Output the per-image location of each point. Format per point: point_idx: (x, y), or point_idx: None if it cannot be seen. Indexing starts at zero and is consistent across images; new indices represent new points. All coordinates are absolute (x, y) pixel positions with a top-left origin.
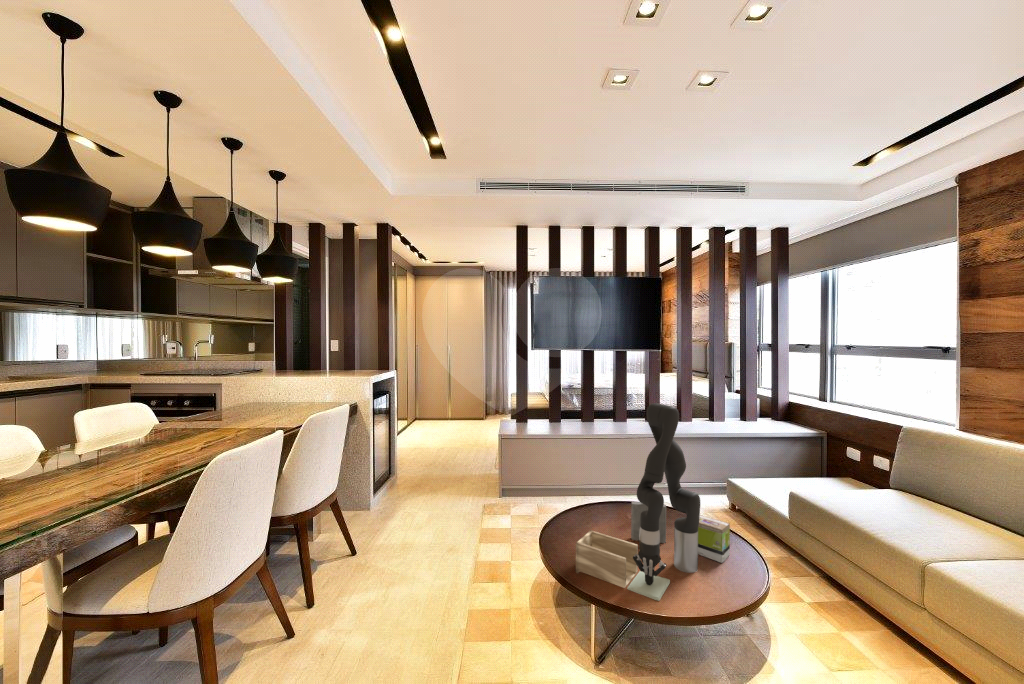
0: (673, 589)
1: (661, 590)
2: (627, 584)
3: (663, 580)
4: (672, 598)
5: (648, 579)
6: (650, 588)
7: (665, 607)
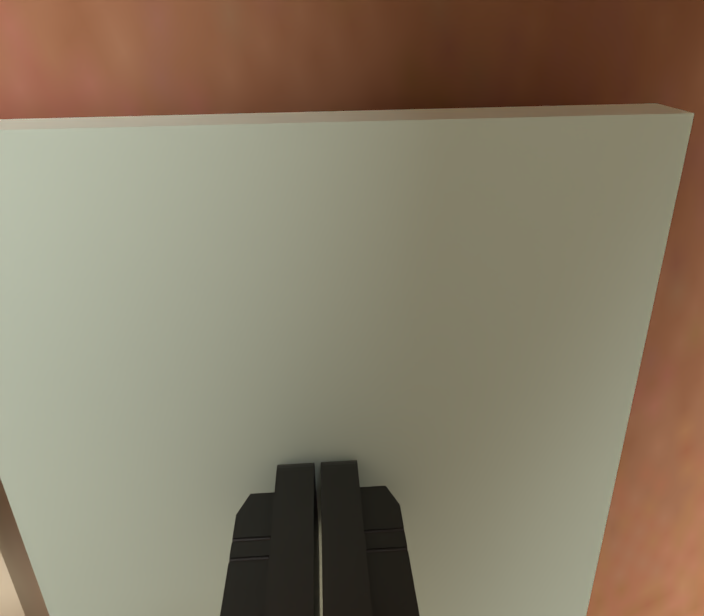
0: (692, 169)
1: (572, 560)
2: (22, 610)
3: (547, 236)
4: (686, 416)
5: (318, 610)
6: None
7: (614, 613)
